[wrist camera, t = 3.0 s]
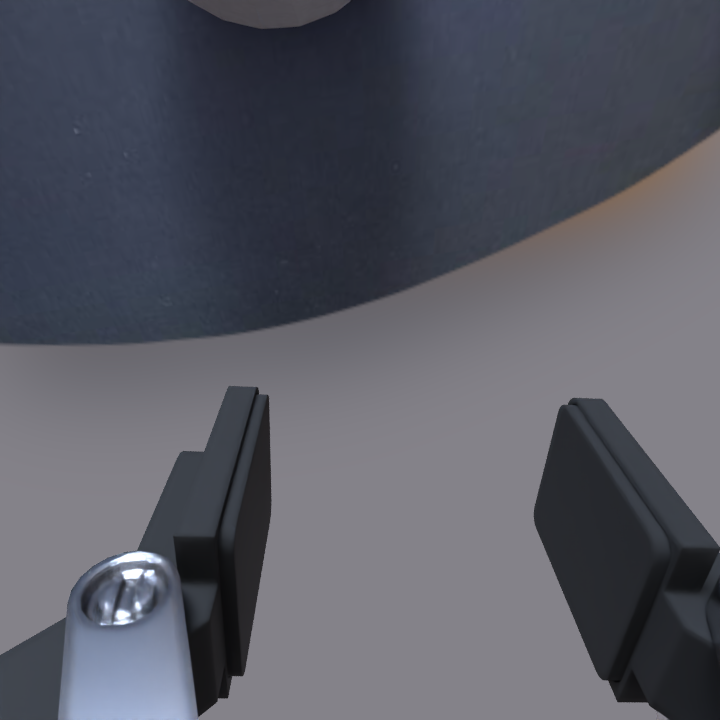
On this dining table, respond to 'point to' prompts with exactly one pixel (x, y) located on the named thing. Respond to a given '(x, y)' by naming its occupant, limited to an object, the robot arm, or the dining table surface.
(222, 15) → the coffee pot
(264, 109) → the dining table surface
